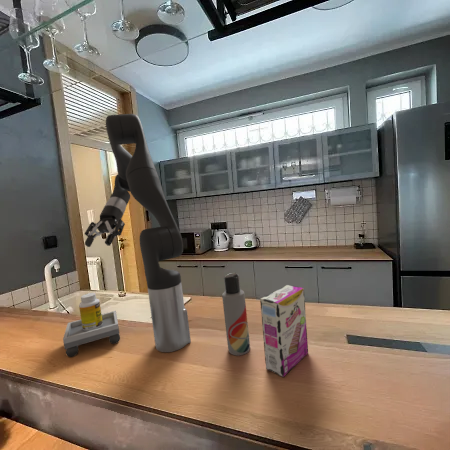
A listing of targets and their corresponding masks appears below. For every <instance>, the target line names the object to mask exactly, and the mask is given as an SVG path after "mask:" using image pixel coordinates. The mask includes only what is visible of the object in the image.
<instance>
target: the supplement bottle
mask: <svg viewBox="0 0 450 450" xmlns="http://www.w3.org/2000/svg"><path fill="white" fill-rule="evenodd" d="M100 302H101V301H100V299H99V298H97V295H96V292H88V293H85V294H82V295H81V296H80V302H79V304H78V309H79V314H80V320H81V321H82V328H83V330H84V331H90V330H94V329H98V328H99V327H101V326H102V324H103V321H102V315H101V314H102V309H101V303H100Z"/></svg>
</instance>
